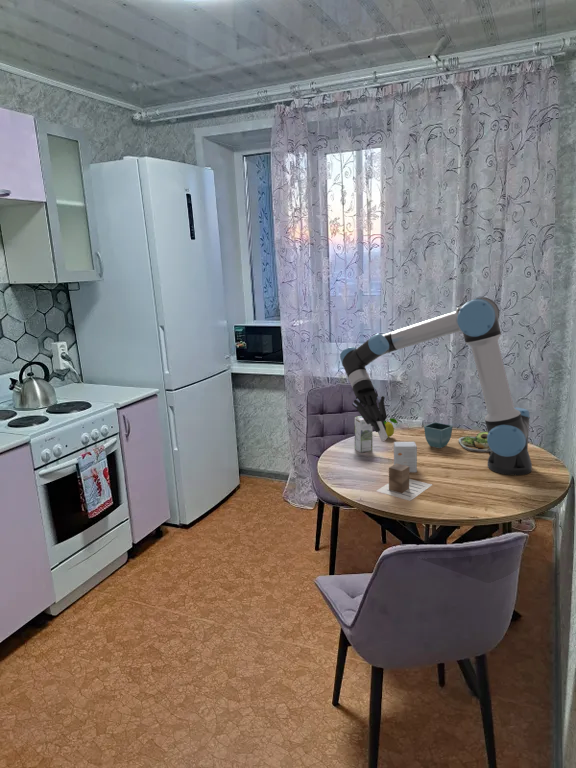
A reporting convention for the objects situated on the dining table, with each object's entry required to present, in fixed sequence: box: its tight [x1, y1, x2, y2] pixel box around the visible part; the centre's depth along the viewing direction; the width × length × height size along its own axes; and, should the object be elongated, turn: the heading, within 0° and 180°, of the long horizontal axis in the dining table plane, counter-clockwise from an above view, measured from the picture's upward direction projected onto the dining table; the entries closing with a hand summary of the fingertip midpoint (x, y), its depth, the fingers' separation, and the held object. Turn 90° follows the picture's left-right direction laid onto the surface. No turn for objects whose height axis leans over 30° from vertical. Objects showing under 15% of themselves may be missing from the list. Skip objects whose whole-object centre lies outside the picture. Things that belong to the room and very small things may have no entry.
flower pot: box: [423, 422, 454, 449], centre depth 215 cm, size 9×9×9 cm
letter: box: [376, 478, 433, 502], centre depth 176 cm, size 13×16×1 cm
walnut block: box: [388, 463, 410, 493], centre depth 174 cm, size 5×5×8 cm
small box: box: [393, 441, 418, 473], centre depth 191 cm, size 8×6×10 cm
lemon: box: [384, 416, 398, 439], centre depth 229 cm, size 7×6×10 cm
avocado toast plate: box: [458, 431, 492, 453], centre depth 213 cm, size 19×18×5 cm
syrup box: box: [354, 415, 374, 454], centre depth 214 cm, size 6×6×14 cm
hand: (384, 438), depth 180 cm, fingers closed
